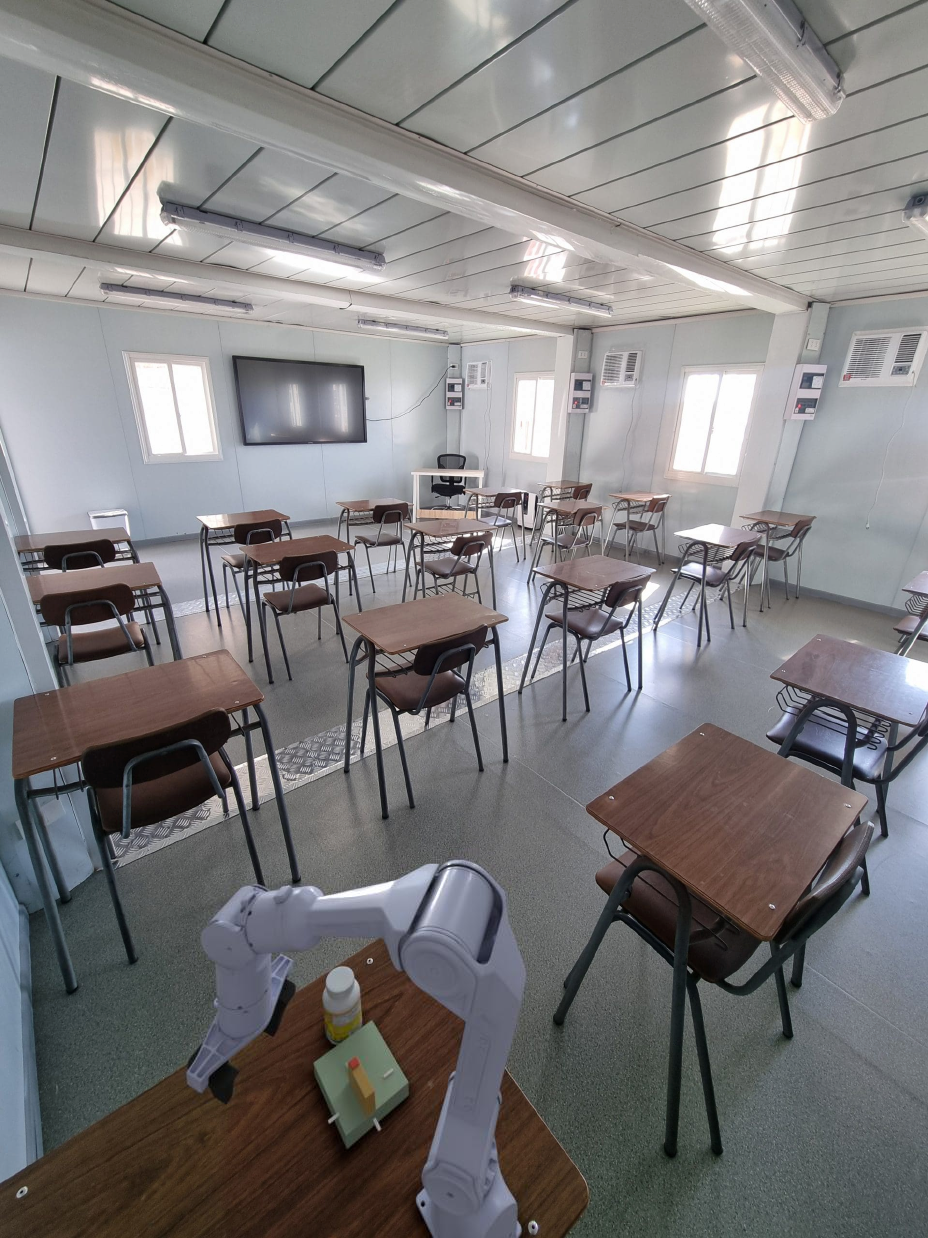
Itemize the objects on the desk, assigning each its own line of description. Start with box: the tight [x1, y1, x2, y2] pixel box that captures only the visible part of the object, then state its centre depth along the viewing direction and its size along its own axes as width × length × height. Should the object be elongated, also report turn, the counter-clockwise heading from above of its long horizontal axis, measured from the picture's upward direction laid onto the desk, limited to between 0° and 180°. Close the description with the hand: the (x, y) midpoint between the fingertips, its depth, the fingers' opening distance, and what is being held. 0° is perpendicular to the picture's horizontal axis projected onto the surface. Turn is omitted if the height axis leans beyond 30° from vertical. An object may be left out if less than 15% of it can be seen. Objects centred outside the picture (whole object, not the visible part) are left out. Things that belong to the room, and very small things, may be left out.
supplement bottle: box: [321, 966, 363, 1046], centre depth 74 cm, size 5×5×10 cm
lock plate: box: [312, 1019, 410, 1149], centre depth 67 cm, size 12×10×3 cm
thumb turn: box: [347, 1056, 376, 1117], centre depth 64 cm, size 5×1×4 cm, turn 39°
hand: (246, 1062), depth 62 cm, fingers open, 7 cm apart
